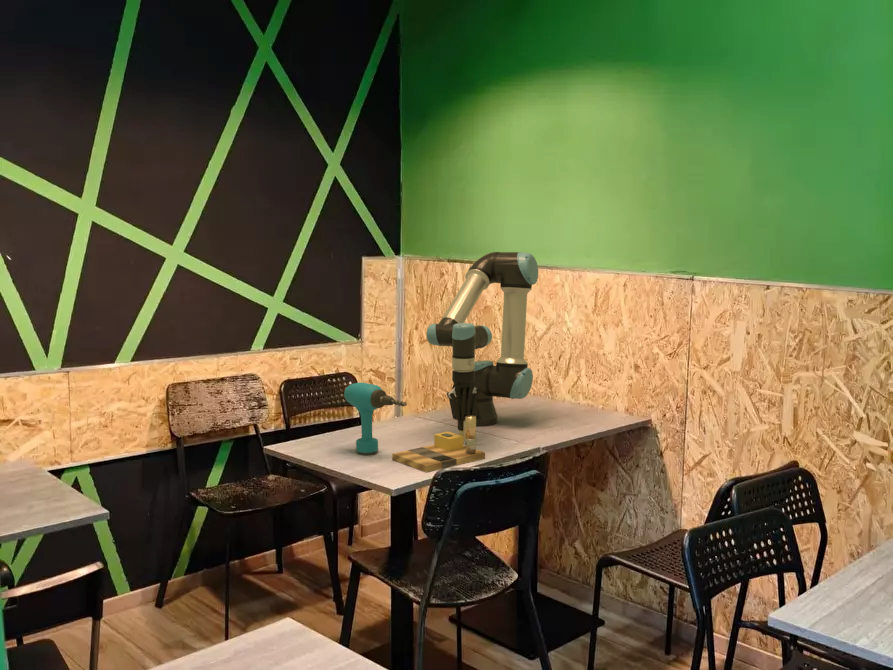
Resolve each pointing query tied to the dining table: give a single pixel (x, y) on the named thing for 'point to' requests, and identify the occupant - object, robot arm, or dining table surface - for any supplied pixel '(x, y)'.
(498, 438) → the dining table surface
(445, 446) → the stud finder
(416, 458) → the subfloor panel
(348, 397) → the power drill
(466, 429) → the brass cylinder rod
